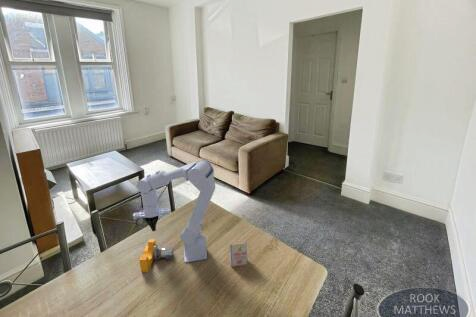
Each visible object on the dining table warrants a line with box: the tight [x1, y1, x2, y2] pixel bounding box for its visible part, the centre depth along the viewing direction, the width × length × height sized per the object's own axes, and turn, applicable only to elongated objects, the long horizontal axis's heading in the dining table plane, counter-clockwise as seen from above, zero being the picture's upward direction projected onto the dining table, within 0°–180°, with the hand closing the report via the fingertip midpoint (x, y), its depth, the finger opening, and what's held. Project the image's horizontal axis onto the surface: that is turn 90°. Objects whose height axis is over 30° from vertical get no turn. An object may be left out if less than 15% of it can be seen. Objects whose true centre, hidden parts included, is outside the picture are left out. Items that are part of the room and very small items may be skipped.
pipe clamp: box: [138, 238, 157, 273], centre depth 100 cm, size 12×4×6 cm, turn 1°
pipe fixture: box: [153, 244, 173, 262], centre depth 102 cm, size 7×6×6 cm
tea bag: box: [229, 242, 248, 268], centre depth 99 cm, size 4×7×10 cm, turn 100°
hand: (154, 229), depth 105 cm, fingers closed
